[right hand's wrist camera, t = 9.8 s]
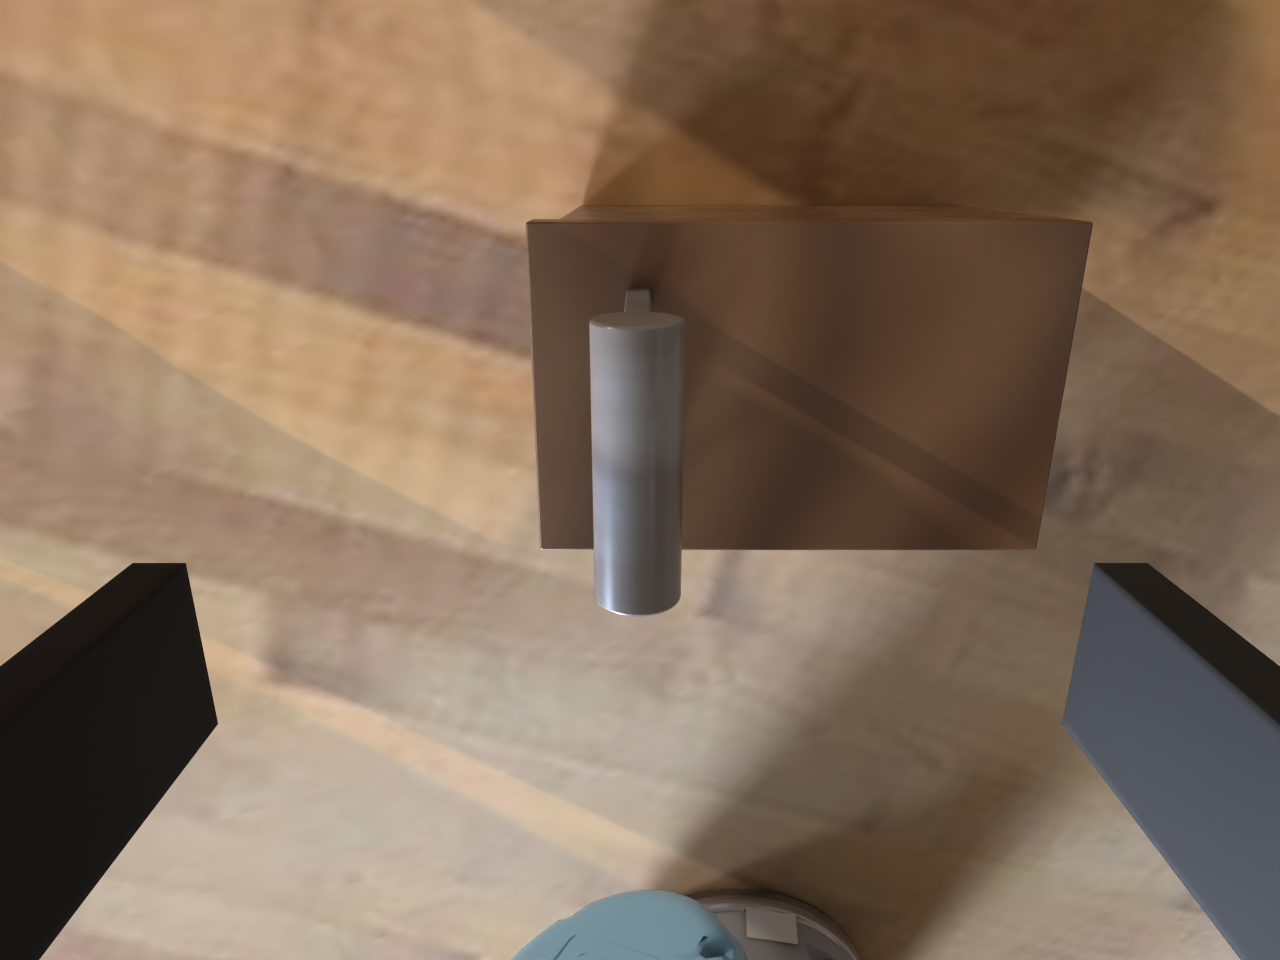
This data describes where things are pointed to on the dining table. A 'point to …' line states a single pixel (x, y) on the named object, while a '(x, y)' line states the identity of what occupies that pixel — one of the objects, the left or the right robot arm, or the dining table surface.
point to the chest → (793, 212)
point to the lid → (794, 386)
